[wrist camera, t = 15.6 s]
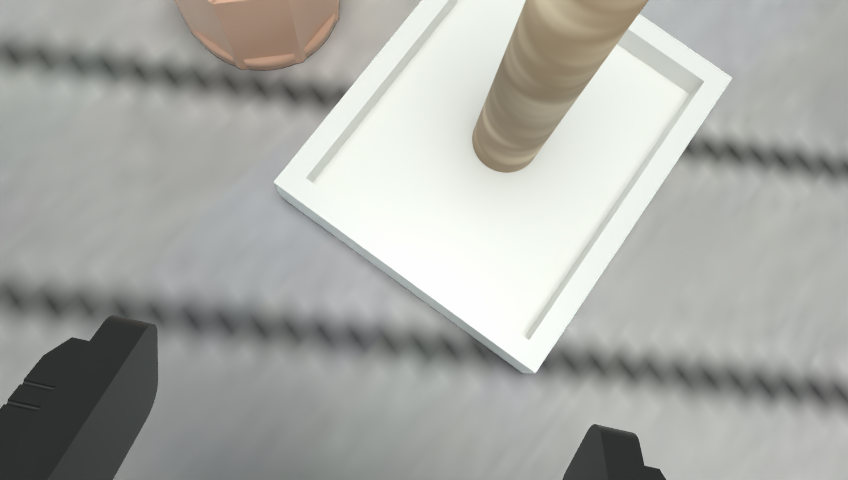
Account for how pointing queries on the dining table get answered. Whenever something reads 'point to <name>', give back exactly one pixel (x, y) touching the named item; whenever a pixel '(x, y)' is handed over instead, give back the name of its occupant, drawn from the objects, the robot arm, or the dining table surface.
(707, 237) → the dining table surface
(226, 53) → the holder cup
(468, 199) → the tray
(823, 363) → the dining table surface
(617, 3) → the wooden pin
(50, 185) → the dining table surface
